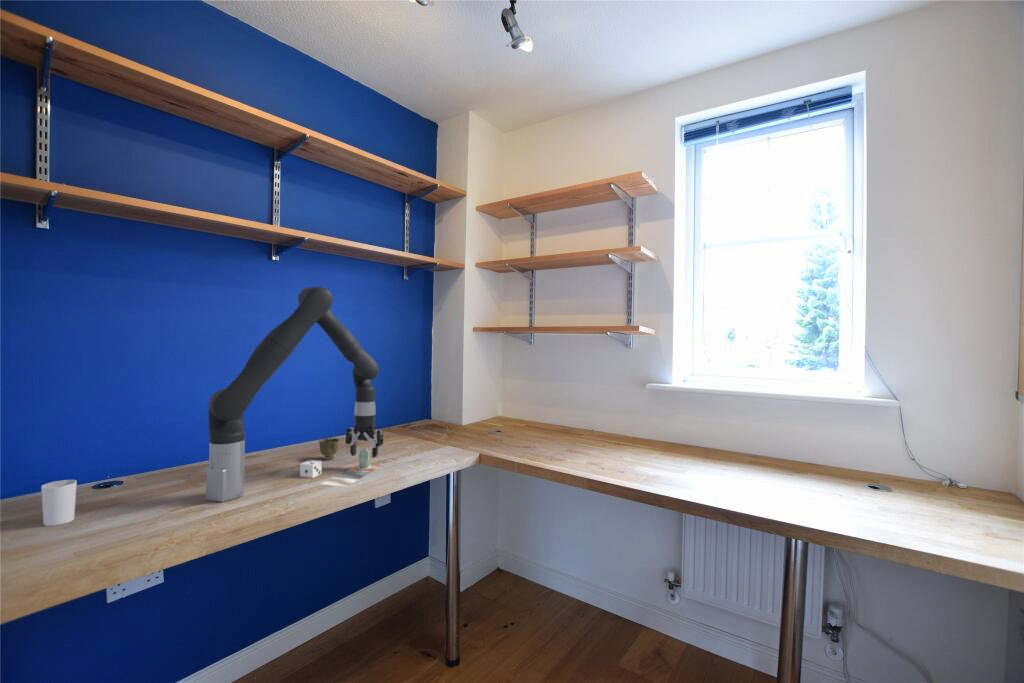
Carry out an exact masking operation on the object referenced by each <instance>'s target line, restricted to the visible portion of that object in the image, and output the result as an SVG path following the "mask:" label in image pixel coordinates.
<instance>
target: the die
mask: <svg viewBox="0 0 1024 683" xmlns="http://www.w3.org/2000/svg"><path fill="white" fill-rule="evenodd" d="M322 463H323V462H322V460H313V459H309V460H307V461H303V462H302V463H300V464H299V477H300V478H312V479H313V478H315V477H318V476H319V475H322V468H323V467H322V465H323V464H322Z"/></svg>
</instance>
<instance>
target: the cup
mask: <svg viewBox="0 0 1024 683" xmlns="http://www.w3.org/2000/svg"><path fill="white" fill-rule="evenodd" d="M318 442H319V450H320V454H321V455H322V456H323V459H324V460H326V461H329V460H333V459H334V457H335V454H337V451H338V448H339V442H340V439H339V438H336V437H333V438H332V437H329V438H328V437H325V438H322V439H319V440H318Z"/></svg>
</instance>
